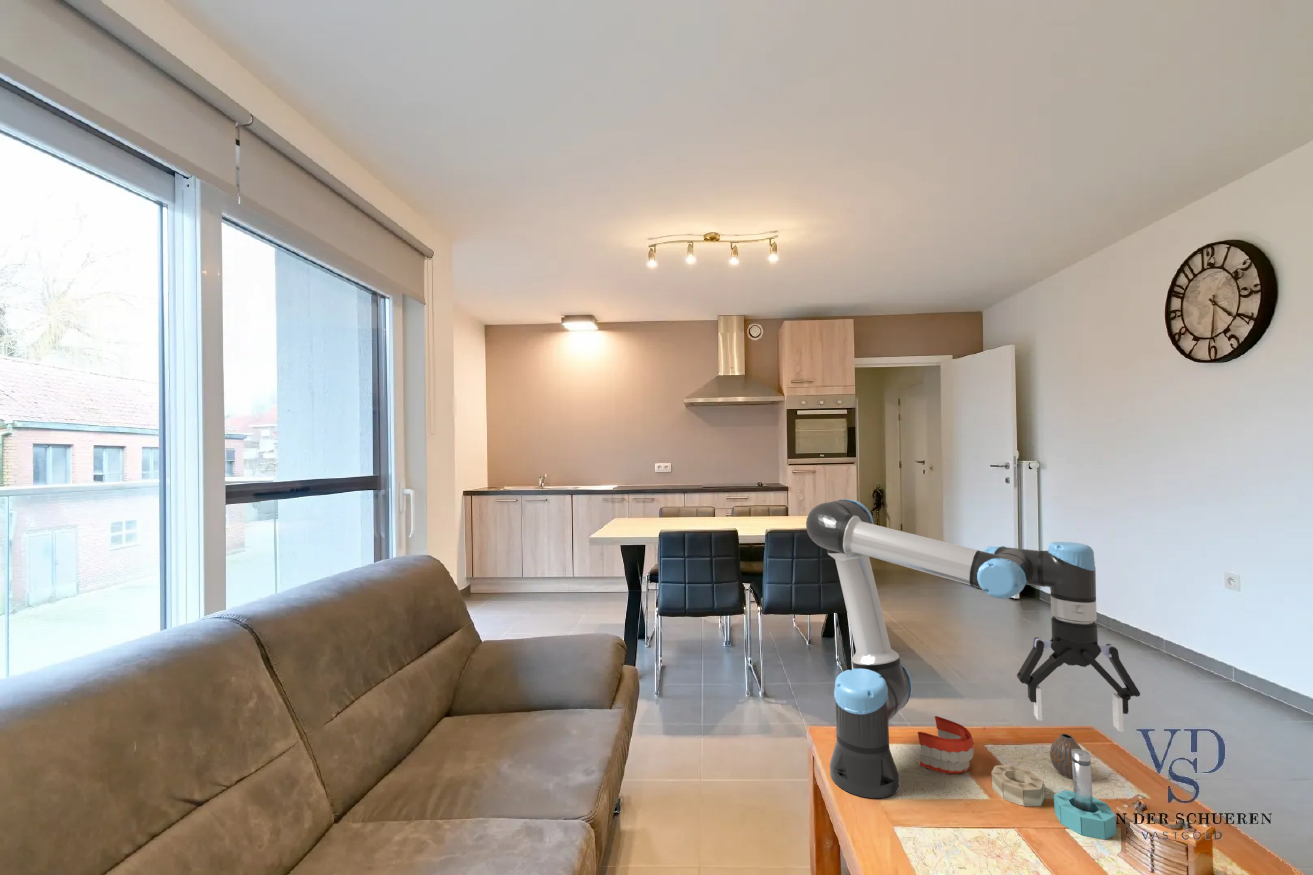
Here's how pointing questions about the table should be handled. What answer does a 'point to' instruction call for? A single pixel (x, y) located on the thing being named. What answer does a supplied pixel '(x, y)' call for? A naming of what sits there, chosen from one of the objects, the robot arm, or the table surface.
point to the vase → (1063, 754)
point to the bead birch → (1018, 785)
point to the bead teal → (1085, 816)
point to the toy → (946, 748)
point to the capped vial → (1082, 780)
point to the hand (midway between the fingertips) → (1077, 723)
